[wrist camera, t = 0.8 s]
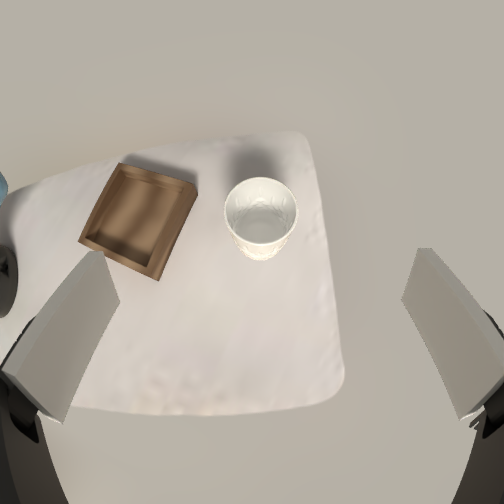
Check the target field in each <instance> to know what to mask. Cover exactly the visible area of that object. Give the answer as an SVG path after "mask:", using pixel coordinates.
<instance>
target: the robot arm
mask: <svg viewBox="0 0 504 504" xmlns="http://www.w3.org/2000/svg"><path fill="white" fill-rule="evenodd" d="M7 192H8V185H7V182H6V180H5V178H4V177H3V175H2V174H1V172H0V206H1V204H2V202H3V200H4V198H5V197H6V195H7ZM17 282H18V271H17V263H16V259H15V256H14V254H13V252H12V251H11V250H10V249H9V248H8V247H5V246H3V245H0V318H2V317H4V316H6V315H7V314H8V312H9V311H10V309H11V307H12V305H13V302H14V299H15V296H16V291H17ZM401 300H402V302H403V304H404V305H405V307H406V309H407V311H408V312H409V314H410V316H411V318H412V320H413V322H414V323H415V325H416V327H417V329H418V331H419V333H420V334H421V337H422V338H423V340H424V342H425V344H426V346H427V348H428V350H429V352H430V354H431V356H432V358H433V360H434V362H435V365H436V367H437V369H438V371H439V373H440V375H441V377H442V380H443V382H444V384H445V387H446V389H447V391H448V394H449V396H450V398H451V401H452V403H453V406H454V408H455V411H456V414H457V416H458V419H459V421H460V420H462V419H464V418H466V417H468V416H470V415H473V414H474V413H475V412H476V411H477V410H478V409H479V408H480V407H481V406H482V405H484V408H485V410H484V411H483V412H482V413H481V414H480V415H479V416H477V417H476V418H475V419H474V420H473V421H472V422H471V423H470V426H469V427H470V428H471V427H472V426H474V425H475V424H476V423H477V422H478V421H479V423H478V424H477V425H476V426H475V428H474V429H475V430H477V433H476V437H475V440H474V444H473V448H472V451H471V454H470V457H469V461H468V464H467V467H466V469H465V472H464V475H463V477H462V480H461V483H460V485H459V488H458V490H457V492H456V495H455V497H454V499H453V502H452V504H504V334H503V333H502V331H501V330H500V329H499V328H498V325H497V324H496V323H495V321H494V319H493V318H492V317H491V316H490V315H489V314H488V313H486V312H485V311H484V310H483V309H482V308H481V307H480V305H479V304H478V303H477V301H476V300H475V299H474V298H473V296H472V295H471V294H470V293H469V291H468V290H467V289H466V288H465V286H464V285H463V284H462V283H461V281H460V280H459V279H458V278H457V277H456V276H455V275H454V273H453V272H452V271H451V270H450V269H449V267H448V266H447V265H446V264H445V263H444V262H443V261H442V260H441V258H440V257H439V256H438V255H437V254H436V253H435V252H434V251H433V250H432V249H431V248H430V249H429V248H428V249H427V248H425V249H423V248H422V249H421V248H419V249H418V250H417V254H416V257H415V261H414V264H413V267H412V270H411V273H410V276H409V279H408V282H407V285H406V288H405V291H404V293H403V296H402V299H401ZM119 304H120V300H119V297H118V295H117V292H116V289H115V287H114V284H113V281H112V278H111V275H110V272H109V269H108V266H107V263H106V260H105V256H104V253H103V251H89V252H88V253H87V254H86V255H85V256H84V258H83V259H82V260H81V261H80V262H79V263H78V264H77V266H76V267H75V268H74V269H73V270H72V271H71V273H70V274H69V275H68V276H67V277H66V279H65V280H64V281H63V282H62V283H61V285H60V286H59V287H58V288H57V290H56V291H55V292H54V293H53V295H52V296H51V297H50V298H49V300H48V301H47V302H46V304H45V305H44V306H43V308H42V309H41V310H40V312H39V313H38V314H37V315H36V316H35V317H34V318H33V319H32V320H30V321H29V322H28V324H27V325H26V327H25V328H24V329H23V331H22V334H20V335H19V337H18V338H17V342H16V341H15V343H14V344H13V346H12V347H11V349H10V351H9V352H8V354H7V355H6V357H5V359H4V360H3V362H2V364H1V365H0V504H69V503H68V501H67V499H66V497H65V494H64V492H63V490H62V487H61V485H60V482H59V479H58V477H57V474H56V471H55V469H54V466H53V463H52V460H51V457H50V453H49V450H48V447H47V444H46V440H45V436H44V432H43V429H42V424H41V420H40V418H39V416H38V415H37V411H38V410H40V411H41V412H42V413H43V414H44V415H45V416H46V417H47V418H49V419H51V420H53V421H55V422H58V423H60V424H63V422H64V419H65V417H66V414H67V412H68V409H69V407H70V404H71V402H72V400H73V397H74V395H75V392H76V390H77V388H78V386H79V383H80V381H81V379H82V377H83V374H84V372H85V370H86V368H87V366H88V364H89V362H90V359H91V357H92V355H93V353H94V351H95V349H96V347H97V345H98V343H99V341H100V339H101V337H102V335H103V333H104V331H105V329H106V328H107V326H108V324H109V322H110V320H111V318H112V316H113V314H114V313H115V311H116V309H117V307H118V305H119Z"/></svg>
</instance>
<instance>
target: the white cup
mask: <svg viewBox="0 0 504 504" xmlns="http://www.w3.org/2000/svg"><path fill="white" fill-rule="evenodd" d="M224 218H225V222H226V224H227V226H228V228H229V231H230V233H231V235H232V238H233V239H234V241H235V243H236V245H237V247H238V248H239V249H240V250H241V252H242V253H243V254H244V255H245V256H247V257H249V258H251V259H253V260H267V259H269V258H271V257H273V256H275V255H276V254H277V253H278V252H279V250H280V249H281V248H282V247H283V246H284V244H285V243H286V241H287V240H288V238H289V236H290V234H291V232H292V230H293V229H294V227H295V225H296V222H297V219H298V204H297V201H296V198H295V196H294V195H293V193H292V192H291V190H290V189H289V188H288V187H287V186H286V185H284V184H283V183H281V182H279V181H277V180H275V179H272V178H268V177H254V178H249V179H246V180H244V181H242V182H240V183H239V184H237V185H236V186H235V187H234V188H233V189H232V190H231V191H230V193H229V194H228V196H227V198H226V200H225V204H224Z"/></svg>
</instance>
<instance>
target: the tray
mask: <svg viewBox="0 0 504 504" xmlns="http://www.w3.org/2000/svg"><path fill="white" fill-rule="evenodd" d="M197 196H198V194H197V191H196V189H195V187H194V185H193V184H192V183H188V182H185V181H182V180H179V179H175V178H172V177H169V176H165V175H162V174H158V173H155V172H151V171H148V170H144V169H141V168H137V167H133V166H130V165H126V164H122V163H118V165H117V166H116V168H115V170H114V171H113V173H112V175H111V177H110V178H109V180H108V182H107V184H106V185H105V187H104V189H103V191H102V193H101V195H100V197H99V198H98V200H97V202H96V204H95V206H94V208H93V210H92V212H91V214H90V216H89V218H88V220H87V223H86V225H85V227H84V229H83V231H82V233H81V236H80V238H79V240H78V242H79V243H81V244H83V245H85V246H87V247H89V248H91V249H93V250H95V251H103V253H104V256H106V257H108V258H110V259H112V260H114V261H116V262H118V263H121V264H123V265H125V266H127V267H129V268H131V269H133V270H135V271H137V272H139V273H141V274H144V275H146V276H148V277H150V278H152V279H155V280H157V281H159V280H160V277H161V275H162V273H163V270H164V268H165V265H166V263H167V261H168V258H169V256H170V254H171V252H172V249H173V247H174V245H175V243H176V240H177V238H178V236H179V234H180V232H181V229H182V227H183V225H184V223H185V221H186V219H187V217H188V215H189V212H190V210H191V208H192V206H193V204H194V202H195V200H196V198H197Z"/></svg>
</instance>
